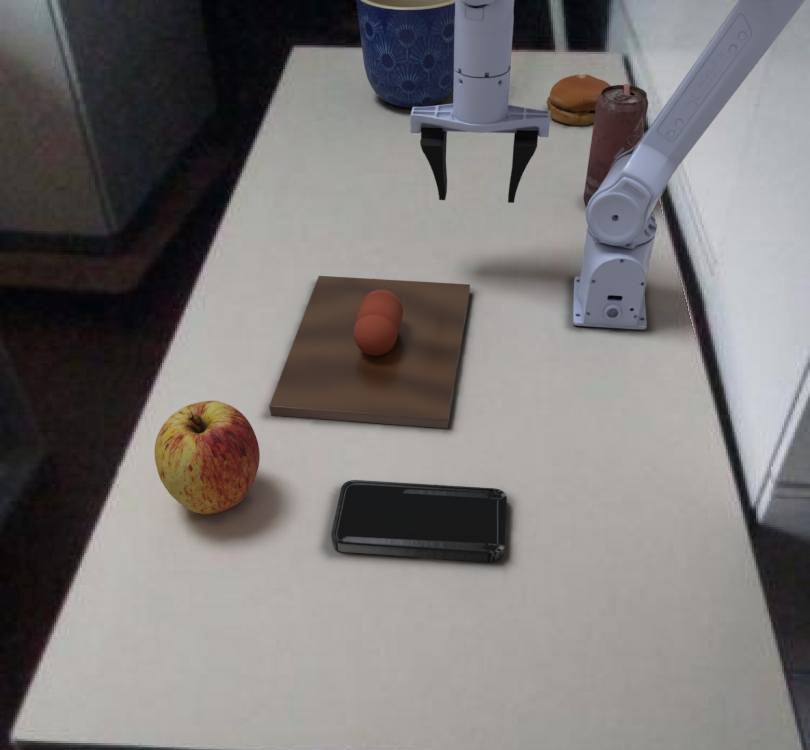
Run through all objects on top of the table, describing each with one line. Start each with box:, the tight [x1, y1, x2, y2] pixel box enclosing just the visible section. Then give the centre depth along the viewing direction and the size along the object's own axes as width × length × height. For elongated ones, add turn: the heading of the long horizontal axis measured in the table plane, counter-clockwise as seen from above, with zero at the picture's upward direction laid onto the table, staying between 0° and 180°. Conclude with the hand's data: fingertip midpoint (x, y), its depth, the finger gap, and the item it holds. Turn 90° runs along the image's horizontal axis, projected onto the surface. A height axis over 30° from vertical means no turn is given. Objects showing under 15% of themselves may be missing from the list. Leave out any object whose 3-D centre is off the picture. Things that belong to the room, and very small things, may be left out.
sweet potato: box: [354, 289, 403, 356], centre depth 91 cm, size 9×5×5 cm, turn 172°
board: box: [268, 275, 471, 429], centre depth 93 cm, size 24×18×1 cm
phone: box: [330, 479, 508, 563], centre depth 75 cm, size 8×1×15 cm
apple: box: [154, 400, 261, 515], centre depth 75 cm, size 9×9×10 cm
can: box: [583, 83, 649, 207], centre depth 108 cm, size 6×6×14 cm
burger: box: [546, 74, 612, 126], centre depth 130 cm, size 10×9×5 cm
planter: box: [355, 0, 455, 109], centre depth 131 cm, size 17×17×15 cm
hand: (477, 197), depth 96 cm, fingers open, 7 cm apart
